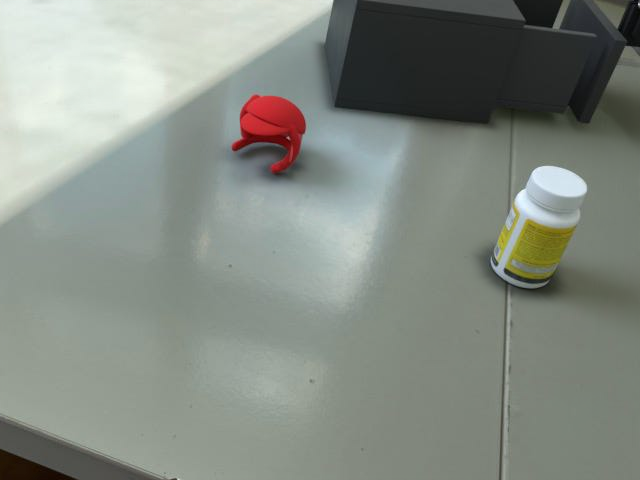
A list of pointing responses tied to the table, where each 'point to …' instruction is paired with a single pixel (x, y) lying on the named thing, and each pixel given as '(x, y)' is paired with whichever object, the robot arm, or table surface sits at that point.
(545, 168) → the supplement bottle
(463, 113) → the cabinet
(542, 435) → the table surface
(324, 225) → the table surface
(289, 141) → the red domed clip
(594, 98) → the drawer
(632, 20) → the robot arm
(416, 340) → the table surface
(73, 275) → the table surface
